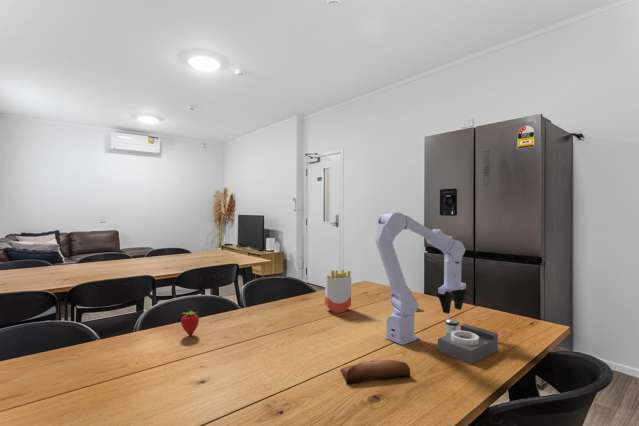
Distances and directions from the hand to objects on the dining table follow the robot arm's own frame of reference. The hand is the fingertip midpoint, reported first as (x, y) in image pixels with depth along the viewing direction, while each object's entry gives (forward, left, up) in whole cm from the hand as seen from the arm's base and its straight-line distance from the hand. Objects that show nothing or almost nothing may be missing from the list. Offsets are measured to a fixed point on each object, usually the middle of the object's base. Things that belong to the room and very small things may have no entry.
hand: (452, 310), depth 121 cm
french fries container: (-15, +46, -9) cm, 49 cm away
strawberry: (-76, +54, -9) cm, 94 cm away
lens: (0, 0, -8) cm, 8 cm away
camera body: (-9, -11, -8) cm, 17 cm away
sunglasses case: (-44, -4, -9) cm, 45 cm away
